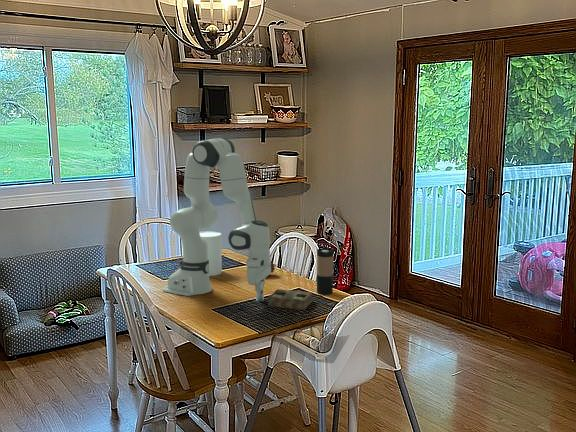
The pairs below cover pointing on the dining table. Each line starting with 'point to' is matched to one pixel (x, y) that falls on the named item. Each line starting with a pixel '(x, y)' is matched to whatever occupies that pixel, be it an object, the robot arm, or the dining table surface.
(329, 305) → the dining table surface
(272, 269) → the dragon fruit
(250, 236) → the robot arm
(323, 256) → the travel mug
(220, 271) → the canister
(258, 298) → the steel plug
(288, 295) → the socket block
